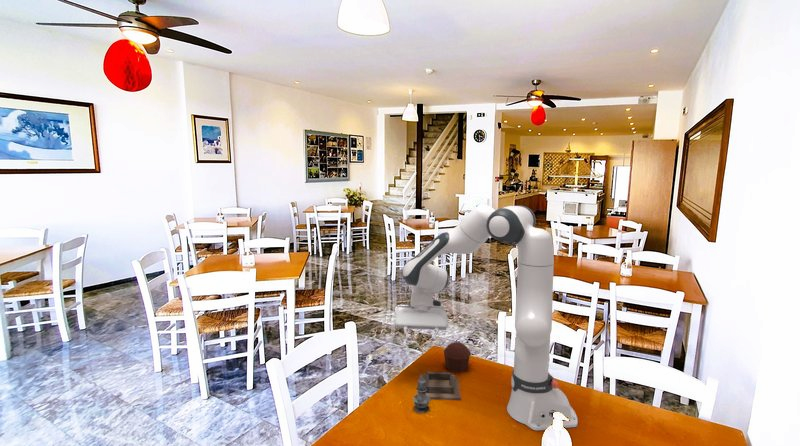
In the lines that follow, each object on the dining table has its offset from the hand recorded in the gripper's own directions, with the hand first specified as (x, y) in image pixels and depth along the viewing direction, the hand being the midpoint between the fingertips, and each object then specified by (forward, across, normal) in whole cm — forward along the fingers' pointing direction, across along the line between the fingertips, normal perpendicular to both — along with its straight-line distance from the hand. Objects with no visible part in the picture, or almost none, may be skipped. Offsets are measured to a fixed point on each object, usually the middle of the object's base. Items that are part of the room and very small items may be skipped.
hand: (420, 339), depth 146 cm
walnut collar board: (+13, +8, +14) cm, 21 cm away
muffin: (+2, +16, +25) cm, 30 cm away
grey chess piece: (+23, +1, +5) cm, 23 cm away
